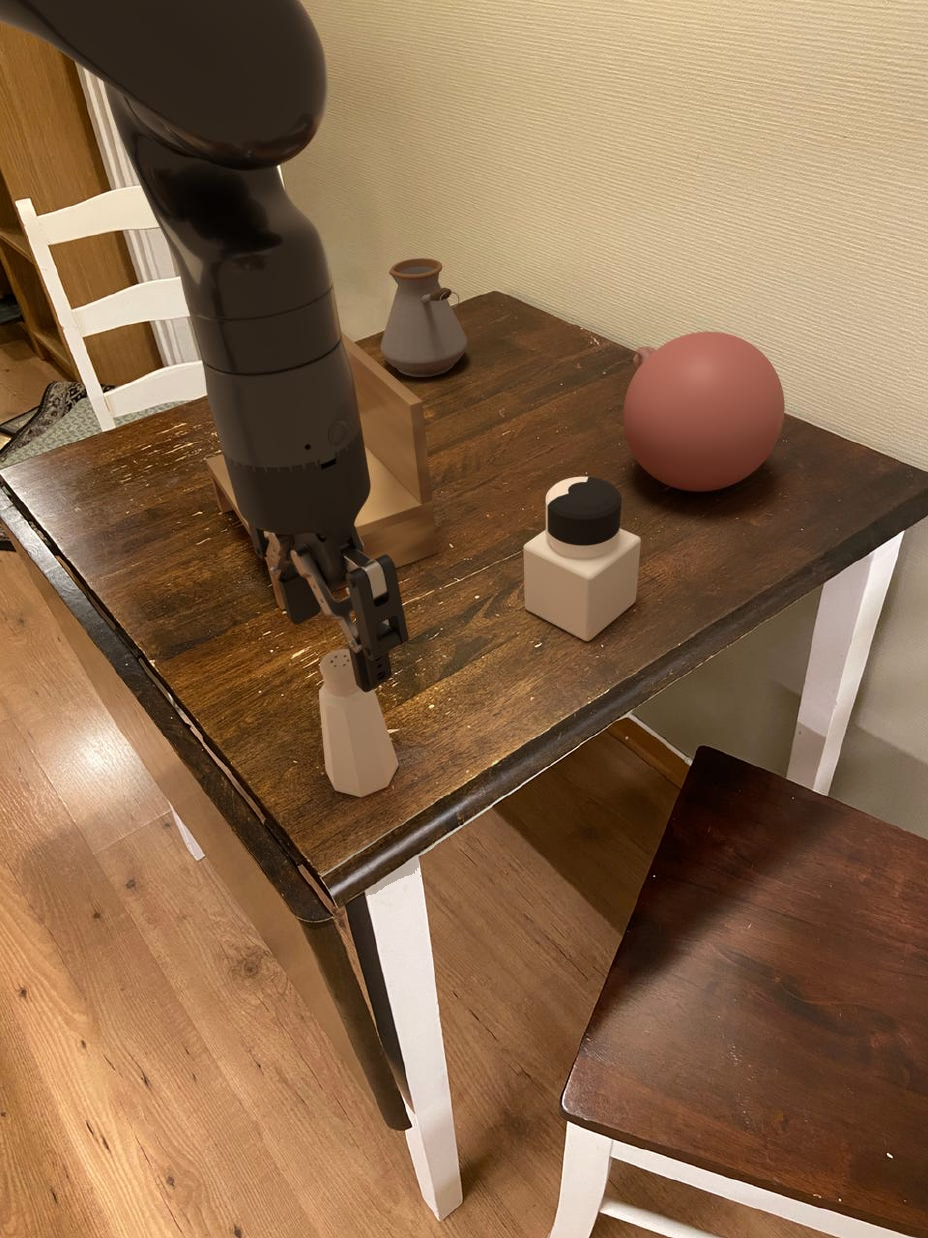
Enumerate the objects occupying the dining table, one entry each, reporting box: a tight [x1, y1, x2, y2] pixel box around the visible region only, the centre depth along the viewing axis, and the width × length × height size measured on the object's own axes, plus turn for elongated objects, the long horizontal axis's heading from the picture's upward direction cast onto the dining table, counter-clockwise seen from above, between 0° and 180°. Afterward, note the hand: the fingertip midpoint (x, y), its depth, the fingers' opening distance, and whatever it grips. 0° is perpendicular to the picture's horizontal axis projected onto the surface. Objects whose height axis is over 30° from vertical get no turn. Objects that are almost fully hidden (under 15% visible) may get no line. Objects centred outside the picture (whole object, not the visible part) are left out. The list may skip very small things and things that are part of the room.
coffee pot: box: [379, 257, 468, 378], centre depth 109 cm, size 21×12×15 cm, turn 17°
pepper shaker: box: [318, 648, 400, 798], centre depth 62 cm, size 5×5×11 cm
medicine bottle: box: [523, 476, 642, 642], centre depth 74 cm, size 7×7×12 cm
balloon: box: [622, 331, 786, 493], centre depth 89 cm, size 15×20×15 cm
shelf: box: [205, 331, 439, 611], centre depth 84 cm, size 16×20×16 cm
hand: (338, 649), depth 57 cm, fingers open, 8 cm apart
